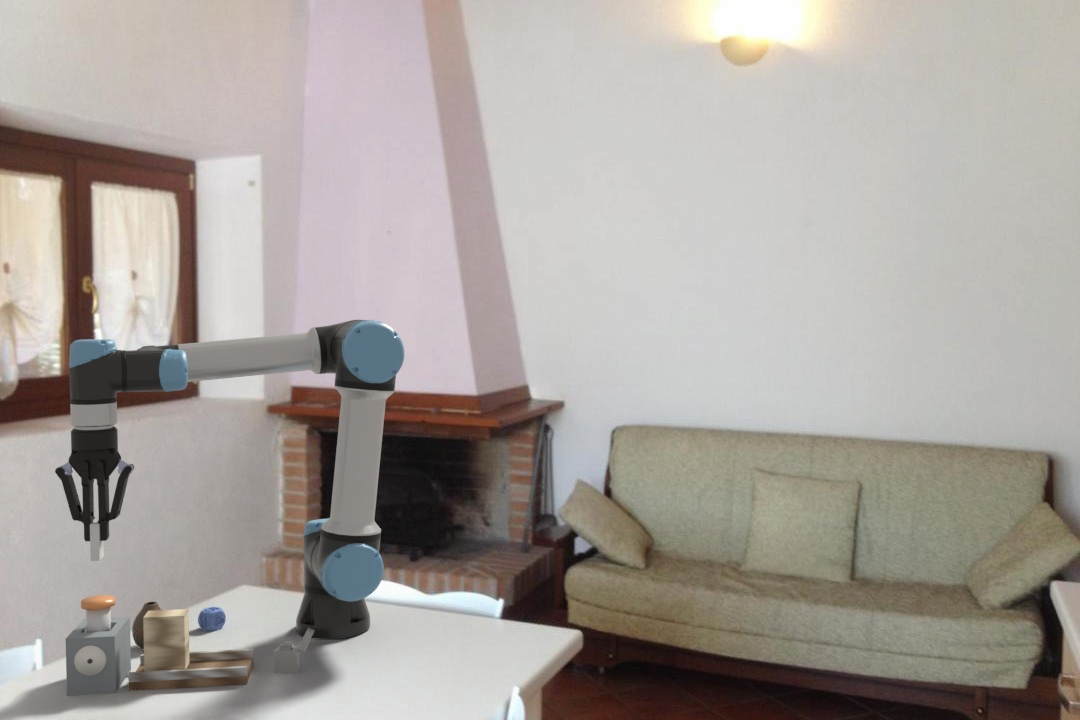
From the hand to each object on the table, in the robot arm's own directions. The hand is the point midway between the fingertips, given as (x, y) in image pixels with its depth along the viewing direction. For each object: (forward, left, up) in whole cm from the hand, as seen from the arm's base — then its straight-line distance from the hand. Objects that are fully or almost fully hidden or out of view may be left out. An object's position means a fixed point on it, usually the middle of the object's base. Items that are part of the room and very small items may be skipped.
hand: (97, 558), depth 178 cm
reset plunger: (0, 0, -15) cm, 15 cm away
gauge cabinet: (0, 0, -22) cm, 22 cm away
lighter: (-34, 0, -23) cm, 41 cm away
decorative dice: (-15, -28, -23) cm, 39 cm away
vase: (-5, -18, -23) cm, 29 cm away
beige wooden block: (-11, 0, -20) cm, 23 cm away
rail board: (-16, 0, -22) cm, 28 cm away
